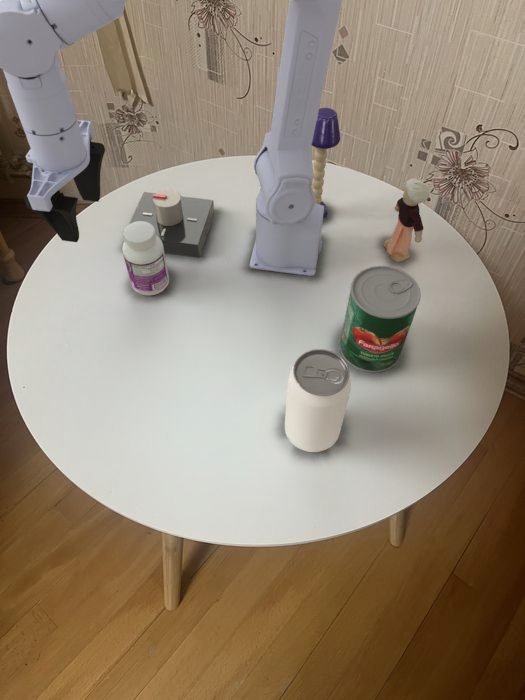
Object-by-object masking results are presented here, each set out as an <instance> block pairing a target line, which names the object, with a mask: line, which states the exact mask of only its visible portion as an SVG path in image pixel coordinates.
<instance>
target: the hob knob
mask: <svg viewBox="0 0 525 700" xmlns="http://www.w3.org/2000/svg"><path fill="white" fill-rule="evenodd" d="M155 193H156V194H153V204H154V209H155V215H156V220H157V221H158V223H160V224H161V225H164V226H173V225H176V224H178V223H180V222H181V221H182V219H183V210H182V203H181V194H180V192H178V191H177V190H175V189H170V188H166V189H161V190H159V191H157V192H155Z"/></svg>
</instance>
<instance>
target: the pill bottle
mask: <svg viewBox="0 0 525 700" xmlns="http://www.w3.org/2000/svg"><path fill="white" fill-rule="evenodd" d="M123 238H124V242H123V244H122V248H121V250H122V257H123V259H124V264H125V266H126V270H127V274H128V277H129V281H130V284H131V287H132V289H133V290H134V291H135V292H136V293H137V294H140V295H143V296H154V295H155V296H156V295H158V294H160V293H162V292H163V291H164V290H166V288H167V287H168V286H169V284H170V274H169V270H168V264H167V260H166V259H167V258H166V253H164V247H163V243H162V241H161V239H160V238H159V237H158V236H157V235H156V233H155V229H154V227H153V225H152V224H150V223H148V222H145V221H137V222H133V223H131V224H129V223H128V225H127V226H126V227H125V228H124V229H123Z"/></svg>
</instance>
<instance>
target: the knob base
mask: <svg viewBox="0 0 525 700" xmlns="http://www.w3.org/2000/svg"><path fill="white" fill-rule="evenodd" d="M156 193H157V192H148V191H143V193H142V195H141V198H140V199H139V202H138V204H137V207H136V209H135V211H134V213H133V214H132V217H131V219H130V221H129V223H128V225H129V224H131V223H133V222H137V221H145V222H148V223H150V224H152V225H153V227H154V229H155V233H156V235H157V236H158V237H159V238H160V239H161V241H162V243H163V247H164V253H165V254H168V255H169V254H170V255H176V256H185V257H192V258H200V257H201V254H202V251H203V249H204V245H205V242H206V239H207V237H208V233H209V230H210V227H211V224H212V221H213V218H214V215H215V205H214V199H208V198H200V197H190V196H181V195H180V196H181V203H182V210H183V219H182V221H181V222H180V223H178V224H176V225H173V226H164V225H161V224H160V223H158V221H157V220H156V215H155V209H154V204H153V194H156Z"/></svg>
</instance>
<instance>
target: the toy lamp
mask: <svg viewBox="0 0 525 700" xmlns="http://www.w3.org/2000/svg"><path fill="white" fill-rule="evenodd" d="M340 132H341V131H340V124H339V116H338V113H337V111H336V110H335V109H333V108H331V107H321V108H320V107H319V112H318V117H317V121H316V126H315V131H314V136H313V140H312V145H311V147H314V148H315V151H314V156H313V157H314V161H313V181H312V190H313V193H314V195H315V203H317V204H320V205H323V206H324V215H323V220H325V219H326V218H327V217H328V214H329V211H328V207H327V205H326V203H324V201H322V195H323V191H324V188H323V186H324V184H325V180H324V178H325V173H326V171H325V169H326V165H327V162H326V159H327V157H328V150H329V149H332V148H334V147H335V148H336V146H337V145H339V144H340V141H341V133H340Z"/></svg>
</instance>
